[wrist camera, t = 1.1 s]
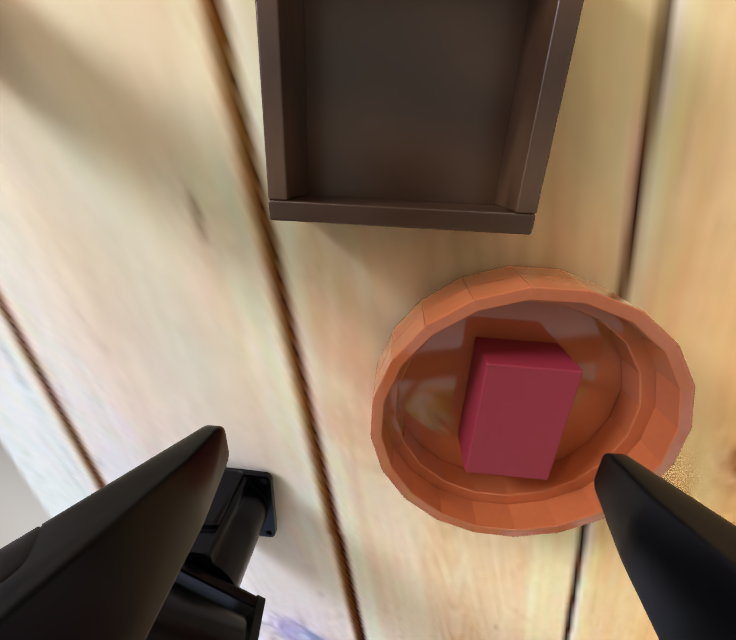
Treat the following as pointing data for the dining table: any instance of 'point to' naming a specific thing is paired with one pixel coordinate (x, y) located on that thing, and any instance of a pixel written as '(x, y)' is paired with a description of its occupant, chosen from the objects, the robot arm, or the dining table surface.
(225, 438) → the robot arm
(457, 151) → the holder
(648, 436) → the bowl
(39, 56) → the dining table surface
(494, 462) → the dark red block
